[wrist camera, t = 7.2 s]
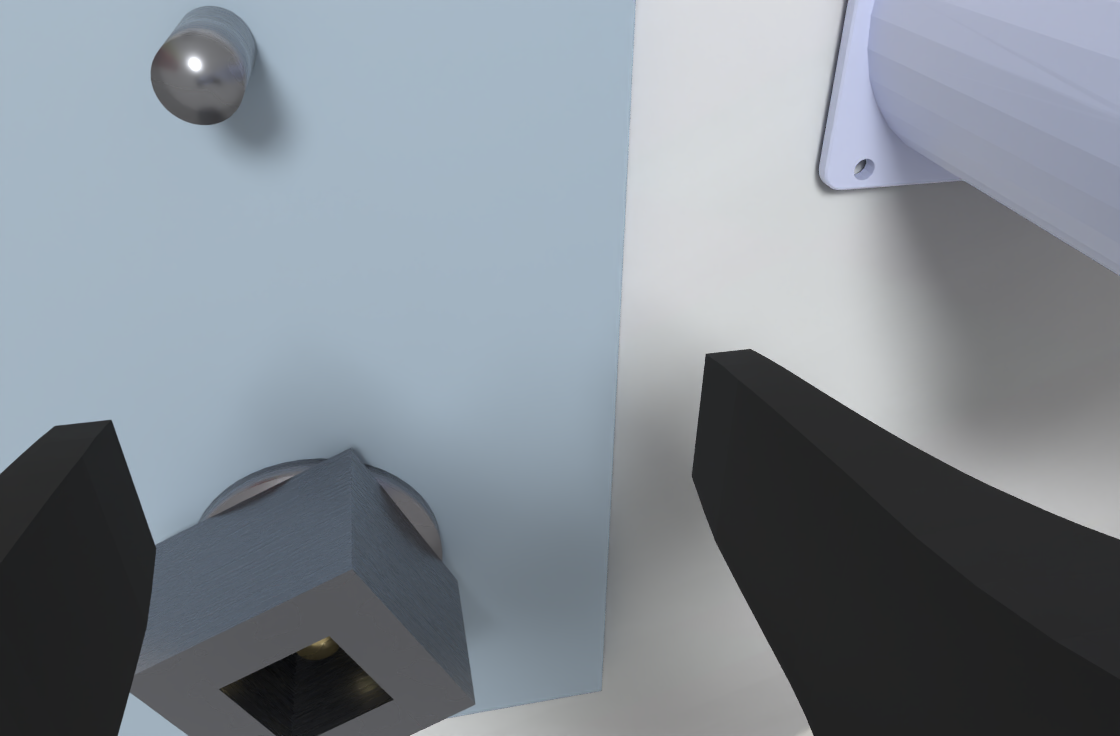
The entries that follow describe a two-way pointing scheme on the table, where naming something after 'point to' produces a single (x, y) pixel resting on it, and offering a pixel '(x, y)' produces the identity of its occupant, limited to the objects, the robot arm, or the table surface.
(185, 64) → the metal cylinder
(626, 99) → the board
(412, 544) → the collar
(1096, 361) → the table surface
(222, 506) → the hub
